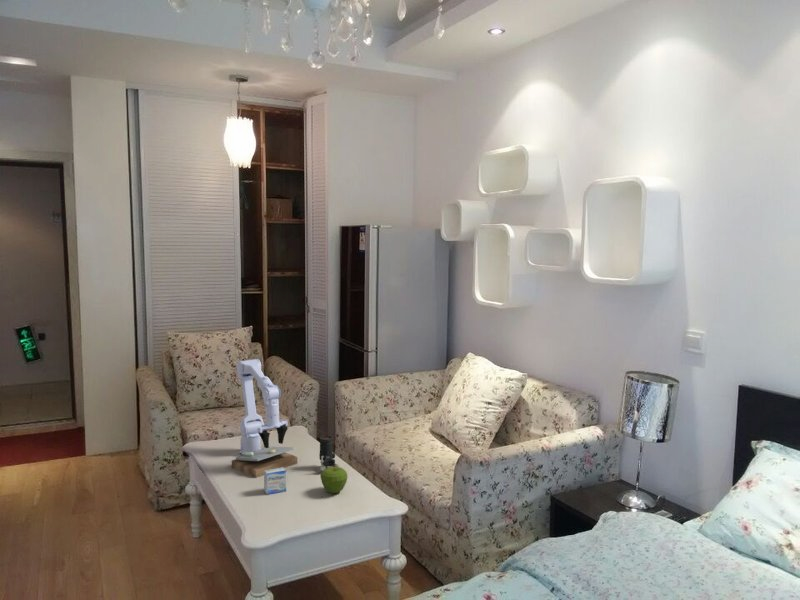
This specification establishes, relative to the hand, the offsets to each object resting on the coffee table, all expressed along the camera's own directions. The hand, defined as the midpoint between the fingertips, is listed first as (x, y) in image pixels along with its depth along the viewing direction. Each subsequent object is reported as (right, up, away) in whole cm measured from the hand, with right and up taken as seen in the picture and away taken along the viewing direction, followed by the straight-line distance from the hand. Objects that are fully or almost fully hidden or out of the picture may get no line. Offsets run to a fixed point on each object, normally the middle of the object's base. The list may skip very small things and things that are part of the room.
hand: (273, 445), depth 264 cm
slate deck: (-5, -5, +5) cm, 9 cm away
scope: (+23, -11, +1) cm, 25 cm away
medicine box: (+5, -13, -22) cm, 26 cm away
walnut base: (-5, -10, +5) cm, 12 cm away
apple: (+29, -13, -23) cm, 39 cm away
